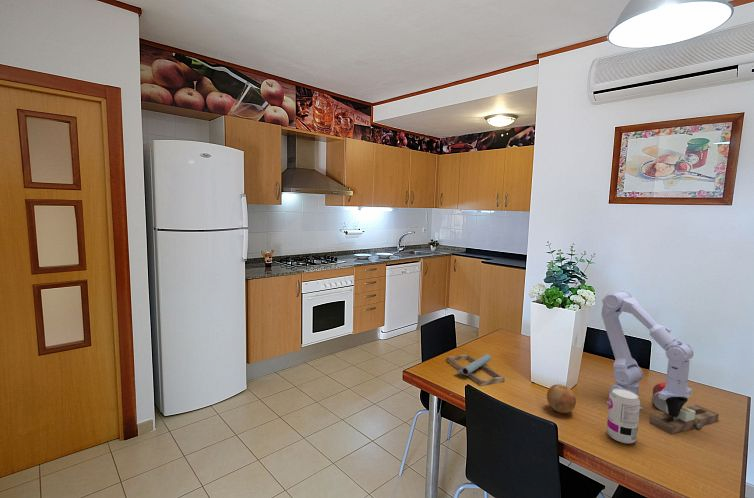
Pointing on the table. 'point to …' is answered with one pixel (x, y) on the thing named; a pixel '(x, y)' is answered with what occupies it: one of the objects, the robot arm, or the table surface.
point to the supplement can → (623, 415)
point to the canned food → (656, 400)
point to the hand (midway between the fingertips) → (673, 415)
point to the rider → (684, 414)
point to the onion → (561, 398)
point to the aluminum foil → (475, 365)
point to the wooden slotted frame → (672, 427)
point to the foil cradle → (497, 376)
